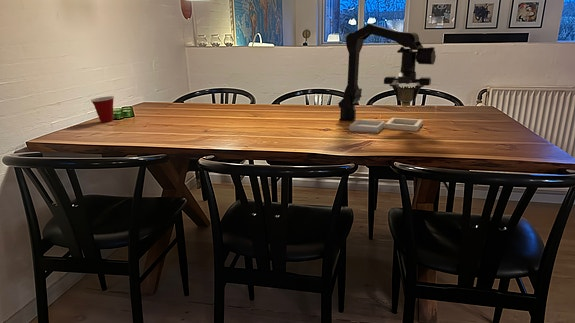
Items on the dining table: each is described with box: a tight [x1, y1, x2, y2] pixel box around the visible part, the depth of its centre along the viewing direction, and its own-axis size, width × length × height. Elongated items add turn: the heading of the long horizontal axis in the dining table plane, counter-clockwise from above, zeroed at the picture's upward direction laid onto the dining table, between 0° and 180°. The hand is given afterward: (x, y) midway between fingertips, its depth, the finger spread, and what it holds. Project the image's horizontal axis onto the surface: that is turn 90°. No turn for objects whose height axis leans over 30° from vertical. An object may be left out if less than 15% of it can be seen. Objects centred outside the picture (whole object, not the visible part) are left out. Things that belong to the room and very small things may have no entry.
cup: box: [398, 85, 415, 107], centre depth 170 cm, size 8×7×8 cm
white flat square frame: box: [384, 117, 423, 132], centre depth 174 cm, size 14×14×2 cm
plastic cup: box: [90, 95, 115, 124], centre depth 197 cm, size 11×11×12 cm
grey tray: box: [348, 118, 386, 134], centre depth 171 cm, size 12×12×2 cm
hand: (405, 100), depth 171 cm, fingers closed on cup, 6 cm apart
